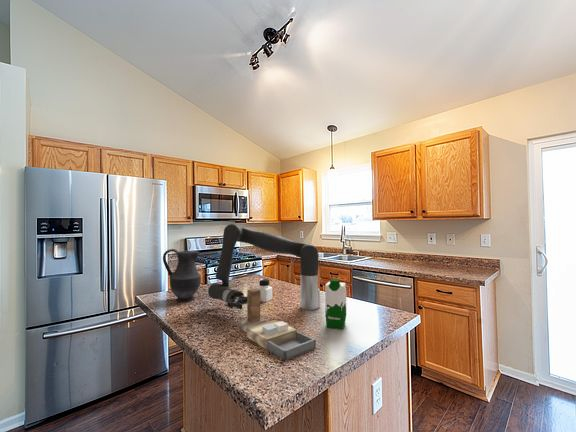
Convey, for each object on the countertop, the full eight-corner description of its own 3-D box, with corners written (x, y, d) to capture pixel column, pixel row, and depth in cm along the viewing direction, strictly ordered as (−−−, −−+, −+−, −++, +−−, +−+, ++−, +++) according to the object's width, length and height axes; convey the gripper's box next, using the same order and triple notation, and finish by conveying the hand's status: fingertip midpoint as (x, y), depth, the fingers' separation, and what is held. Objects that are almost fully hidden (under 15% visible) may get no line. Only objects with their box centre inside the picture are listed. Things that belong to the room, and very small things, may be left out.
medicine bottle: (272, 299, 158) (272, 278, 159) (266, 302, 152) (266, 280, 152) (262, 297, 161) (262, 277, 162) (255, 300, 155) (255, 279, 155)
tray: (267, 350, 94) (267, 341, 94) (297, 339, 103) (297, 331, 103) (284, 360, 86) (284, 351, 86) (315, 348, 95) (315, 339, 95)
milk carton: (323, 328, 113) (323, 280, 114) (327, 320, 122) (327, 276, 123) (345, 330, 111) (344, 281, 111) (347, 323, 119) (347, 277, 120)
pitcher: (200, 302, 151) (200, 249, 152) (159, 306, 145) (160, 250, 146) (201, 295, 168) (201, 247, 169) (164, 298, 162) (165, 248, 163)
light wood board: (246, 336, 105) (246, 327, 105) (275, 328, 114) (275, 319, 114) (266, 349, 94) (266, 339, 94) (297, 338, 103) (297, 329, 103)
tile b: (262, 332, 101) (262, 326, 101) (271, 329, 103) (271, 324, 103) (268, 335, 98) (268, 329, 98) (277, 332, 100) (277, 327, 100)
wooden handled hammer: (241, 329, 112) (241, 291, 113) (261, 323, 119) (261, 287, 119) (245, 332, 109) (245, 292, 110) (266, 326, 116) (266, 289, 116)
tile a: (273, 328, 104) (273, 323, 104) (281, 326, 107) (281, 321, 107) (279, 331, 101) (279, 326, 101) (288, 329, 103) (288, 323, 103)
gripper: (219, 291, 125) (235, 299, 112) (246, 287, 134) (264, 293, 121) (219, 308, 125) (235, 317, 112) (246, 302, 134) (264, 310, 121)
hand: (250, 304), depth 117 cm, fingers open, 8 cm apart
